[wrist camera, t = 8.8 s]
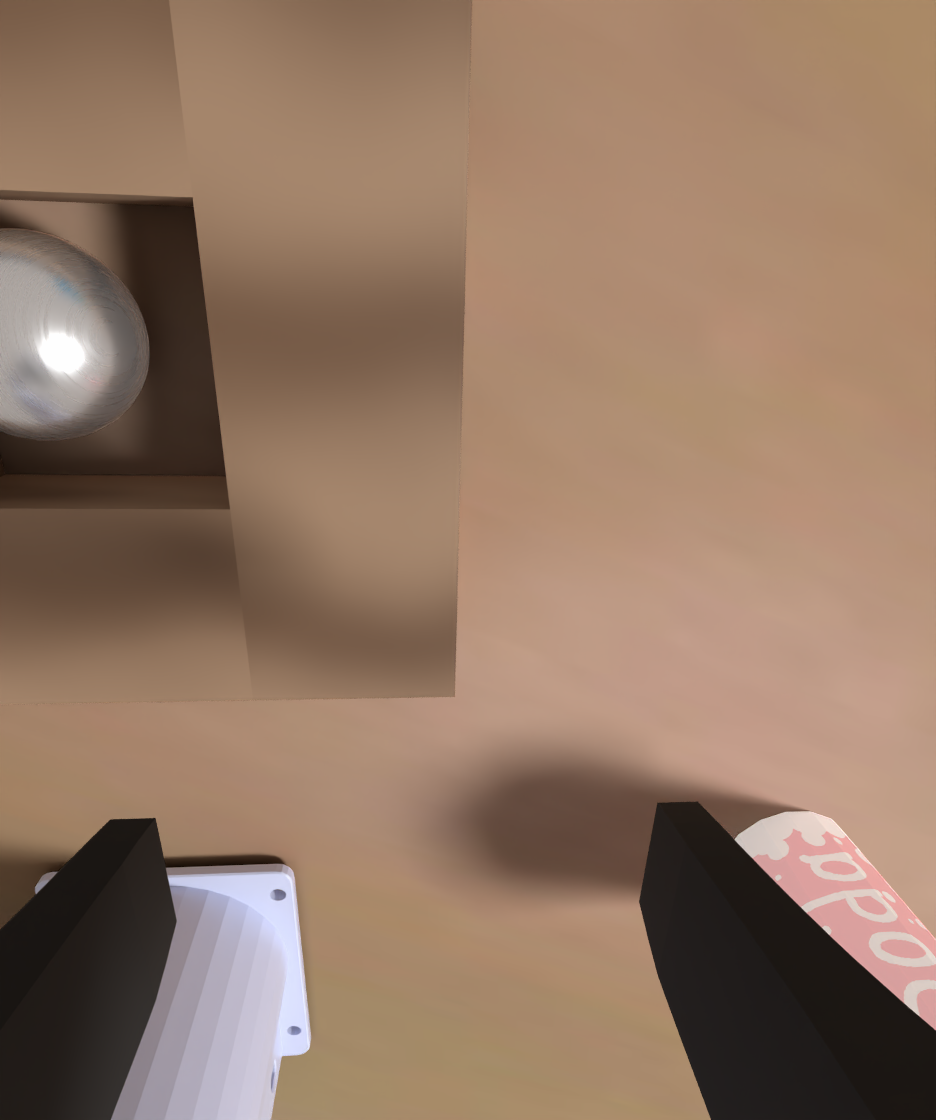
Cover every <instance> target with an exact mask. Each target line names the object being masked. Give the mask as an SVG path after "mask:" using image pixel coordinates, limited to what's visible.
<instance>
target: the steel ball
mask: <svg viewBox="0 0 936 1120" xmlns="http://www.w3.org/2000/svg"><path fill="white" fill-rule="evenodd" d="M149 356H150V352H149V339H148V333H147V329H146V325H145V322H144V319H143V316H142V314H141V311H140V309H139V307H138V305H137V303H136V301H135V299H134V298H133V296H132V294H131V293H130V291H129V290H128V289H127V287H126V286H125V285H124V283H123V282H122V281H121V280H120V279H119V278H118V277H117V275H116V274H115V273H114V272H113V271H112V270H111V269H110V268H108V267H107V266H106V265H105V264H104V263H103V262H102V261H100V260H99V259H98V258H96V257H95V256H93V255H92V254H90V253H89V252H87V251H86V250H84V249H82V248H81V247H79V246H77V245H75V244H73V243H71V242H69V241H66V240H64V239H62V238H59V237H57V236H54V235H50V234H47V233H44V232H39V231H33V230H27V229H21V228H0V431H1V432H3V433H6V434H9V435H13V436H16V437H21V438H27V439H34V440H43V441H56V440H67V439H74V438H78V437H81V436H85V435H89V434H92V433H94V432H96V431H99V430H101V429H103V428H105V427H106V426H108V425H110V424H111V423H113V422H114V421H116V420H117V419H118V418H119V417H120V416H121V415H123V414H124V413H125V412H126V411H127V410H128V409H129V408H130V406H131V405H132V404H133V403H134V401H135V400H136V398H137V396H138V395H139V393H140V391H141V389H142V387H143V385H144V383H145V379H146V376H147V372H148V367H149Z"/></svg>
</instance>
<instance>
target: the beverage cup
mask: <svg viewBox="0 0 936 1120" xmlns="http://www.w3.org/2000/svg"><path fill="white" fill-rule="evenodd" d="M735 841H736V842H737V843H738V844H739V845H740V846H741V847H742V848H743V849H744V850H745V851H746V852H747V853H748V854H749V855H750V856H751V857H752V858H753V859H754V860H755V861H756V862H757V864H758V865H759V866H760V867H761V868H762V869H763V870H764V871H765V872H766V873H767V874H768V875H769V876H770V877H771V878H772V879H773V880H774V881H775V882H776V883H777V884H778V885H779V886H780V887H781V888H782V889H783V890H784V891H785V892H786V893H787V894H788V895H789V896H790V897H791V898H792V899H793V900H794V901H795V902H796V903H797V904H798V905H799V906H800V907H801V908H802V909H803V910H804V911H805V912H806V913H807V914H808V915H809V916H810V917H811V918H812V919H813V920H814V921H815V922H817V923H818V924H819V925H820V926H821V927H822V928H823V929H824V930H825V931H826V932H827V933H828V934H829V935H830V936H831V937H832V938H833V939H834V940H835V941H836V942H837V943H838V944H839V945H840V946H841V947H843V948H844V949H845V950H846V951H847V952H848V953H849V954H850V955H851V956H852V957H853V958H854V959H855V960H856V961H858V962H859V963H860V964H861V965H862V966H863V967H864V968H865V969H867V970H868V971H869V972H870V973H871V974H872V975H873V976H874V977H875V978H877V979H878V980H879V981H880V982H881V983H882V984H883V985H884V986H885V987H887V988H888V989H889V990H890V991H891V992H892V993H893V994H894V995H895V996H897V997H898V998H899V999H900V1000H901V1001H902V1002H903V1003H904V1004H906V1005H907V1006H908V1007H909V1008H910V1009H911V1010H913V1011H914V1012H915V1013H916V1014H917V1015H918V1016H920V1017H921V1018H922V1019H923V1020H924V1021H926V1022H927V1023H928V1024H929V1025H930V1026H931V1027H933V1028H934V1029H935V1030H936V939H935V938H934V936H933V935H932V934H931V933H930V932H929V931H928V929H927V928H926V927H925V926H924V925H923V924H922V922H921V921H920V920H919V919H918V918H917V917H916V915H915V914H914V913H913V912H912V911H911V910H910V908H909V907H908V906H907V905H906V904H905V903H904V901H903V900H902V899H901V898H900V897H899V896H898V894H897V893H896V892H895V891H894V890H893V889H892V887H891V886H890V885H889V884H888V883H887V882H886V880H885V879H884V878H883V877H882V876H881V875H880V873H879V872H878V871H877V870H876V869H875V868H874V866H873V865H872V864H871V863H870V862H869V861H868V859H867V858H866V857H865V856H864V855H863V854H862V852H861V851H860V850H859V849H858V848H857V847H856V845H855V844H854V843H853V842H852V841H851V840H850V838H849V837H848V836H847V835H846V834H845V833H844V832H843V830H842V829H841V828H840V827H839V826H838V825H837V824H836V823H835V822H834V821H833V820H832V819H831V818H829V817H826V816H823V815H820V814H817V813H814V812H811V811H802V812H784V813H781V814H777V815H774V816H771V817H768V818H765V819H762V820H759V821H758V822H756V823H755V824H753V825H752V826H750V827H749V828H747V829H746V830H744V831H743V832H741V833H740V834H738V836H737V837H736V838H735Z"/></svg>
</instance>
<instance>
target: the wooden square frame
mask: <svg viewBox="0 0 936 1120" xmlns="http://www.w3.org/2000/svg"><path fill="white" fill-rule="evenodd" d="M471 26H472V0H0V199H4V200H31V201H58V202H85V203H112V204H139V205H166V206H193V207H194V213H195V221H196V230H197V238H198V246H199V254H200V263H201V271H202V279H203V288H204V296H205V304H206V313H207V321H208V329H209V338H210V346H211V354H212V363H213V371H214V379H215V388H216V396H217V404H218V412H219V421H220V429H221V437H222V446H223V454H224V462H225V471H226V476H149V475H10V474H5V472H4V468H3V465H2V461H1V457H0V705H20V704H76V703H132V702H189V701H245V700H301V699H358V698H414V697H455V666H456V626H457V586H458V546H459V506H460V466H461V426H462V386H463V346H464V306H465V266H466V226H467V186H468V146H469V106H470V66H471Z"/></svg>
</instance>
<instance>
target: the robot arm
mask: <svg viewBox="0 0 936 1120" xmlns="http://www.w3.org/2000/svg"><path fill="white" fill-rule="evenodd" d="M276 889H280V890H276ZM35 893H36V895H35V896H34V897H33V898H32V899H31V900H30V901H29V902H28V903H27V904H26V905H25V906H24V907H23V908H22V909H21V910H20V911H19V912H18V913H17V914H16V915H15V916H14V917H13V918H12V919H11V920H10V921H9V922H7V923H6V924H5V925H4V926H3V927H2V928H1V929H0V1120H271V1116H272V1110H273V1104H274V1098H275V1092H276V1086H277V1080H278V1075H279V1069H280V1063H281V1057H282V1056H289V1055H300V1054H303V1053H305V1052H306V1051H307V1050H308V1049H309V1047H310V1040H311V1033H310V1023H309V1013H308V1004H307V994H306V984H305V975H304V965H303V956H302V946H301V936H300V927H299V917H298V907H297V898H296V888H295V878H294V873H293V870H292V869H291V868H290V867H288V866H286V865H284V864H256V865H229V866H201V867H173V868H166V866H165V861H164V857H163V852H162V847H161V842H160V837H159V833H158V828H157V823H156V818H146V819H113V820H110V821H109V822H108V823H106V824H105V825H104V826H103V827H102V828H101V829H100V830H99V831H98V832H97V833H96V834H95V835H94V836H93V837H92V838H91V839H90V840H89V841H88V842H87V843H86V844H85V845H84V846H83V847H82V848H81V849H80V850H79V851H78V852H77V853H76V854H75V855H74V856H73V857H72V858H71V859H70V860H69V861H68V862H67V863H66V864H65V865H64V866H63V867H62V868H61V869H60V870H59V871H58V872H50V873H46V874H44V875H43V876H42V877H41V878H40V880H39V882H38V883H37V885H36V887H35ZM639 903H640V907H641V911H642V915H643V919H644V923H645V927H646V931H647V936H648V940H649V944H650V947H651V951H652V955H653V959H654V962H655V966H656V970H657V974H658V977H659V980H660V983H661V985H662V988H663V991H664V994H665V997H666V999H667V1002H668V1005H669V1007H670V1010H671V1013H672V1016H673V1018H674V1021H675V1024H676V1027H677V1029H678V1032H679V1035H680V1037H681V1040H682V1043H683V1046H684V1048H685V1051H686V1054H687V1056H688V1059H689V1062H690V1064H691V1067H692V1070H693V1072H694V1075H695V1078H696V1080H697V1083H698V1086H699V1088H700V1091H701V1094H702V1096H703V1099H704V1102H705V1104H706V1107H707V1110H708V1113H709V1115H710V1118H711V1120H936V1030H935V1029H934V1028H933V1027H931V1026H930V1025H929V1024H928V1023H927V1022H926V1021H924V1020H923V1019H922V1018H921V1017H920V1016H918V1015H917V1014H916V1013H915V1012H914V1011H913V1010H911V1009H910V1008H909V1007H908V1006H907V1005H906V1004H904V1003H903V1002H902V1001H901V1000H900V999H899V998H898V997H897V996H895V995H894V994H893V993H892V992H891V991H890V990H889V989H888V988H887V987H885V986H884V985H883V984H882V983H881V982H880V981H879V980H878V979H877V978H875V977H874V976H873V975H872V974H871V973H870V972H869V971H868V970H867V969H865V968H864V967H863V966H862V965H861V964H860V963H859V962H858V961H856V960H855V959H854V958H853V957H852V956H851V955H850V954H849V953H848V952H847V951H846V950H845V949H844V948H843V947H841V946H840V945H839V944H838V943H837V942H836V941H835V940H834V939H833V938H832V937H831V936H830V935H829V934H828V933H827V932H826V931H825V930H824V929H823V928H822V927H821V926H820V925H819V924H818V923H817V922H815V921H814V920H813V919H812V918H811V917H810V916H809V915H808V914H807V913H806V912H805V911H804V910H803V909H802V908H801V907H800V906H799V905H798V904H797V903H796V902H795V901H794V900H793V899H792V898H791V897H790V896H789V895H788V894H787V893H786V892H785V891H784V890H783V889H782V888H781V887H780V886H779V885H778V884H777V883H776V882H775V881H774V880H773V879H772V878H771V877H770V876H769V875H768V874H767V873H766V872H765V871H764V870H763V869H762V868H761V867H760V866H759V865H758V864H757V862H756V861H755V860H754V859H753V858H752V857H751V856H750V855H749V854H748V853H747V852H746V851H745V850H744V849H743V848H742V847H741V846H740V845H739V844H738V843H737V842H736V841H735V840H734V839H733V838H732V837H731V836H730V835H729V834H728V832H727V831H726V830H725V829H724V828H723V827H722V826H721V825H720V824H719V823H718V822H717V821H716V820H715V819H714V818H713V817H712V816H711V815H710V814H709V813H708V812H707V811H706V810H705V809H704V808H703V807H702V806H701V805H700V804H699V803H698V802H670V803H657V808H656V814H655V819H654V825H653V830H652V835H651V841H650V846H649V852H648V857H647V862H646V868H645V873H644V879H643V884H642V889H641V895H640V900H639Z"/></svg>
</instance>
